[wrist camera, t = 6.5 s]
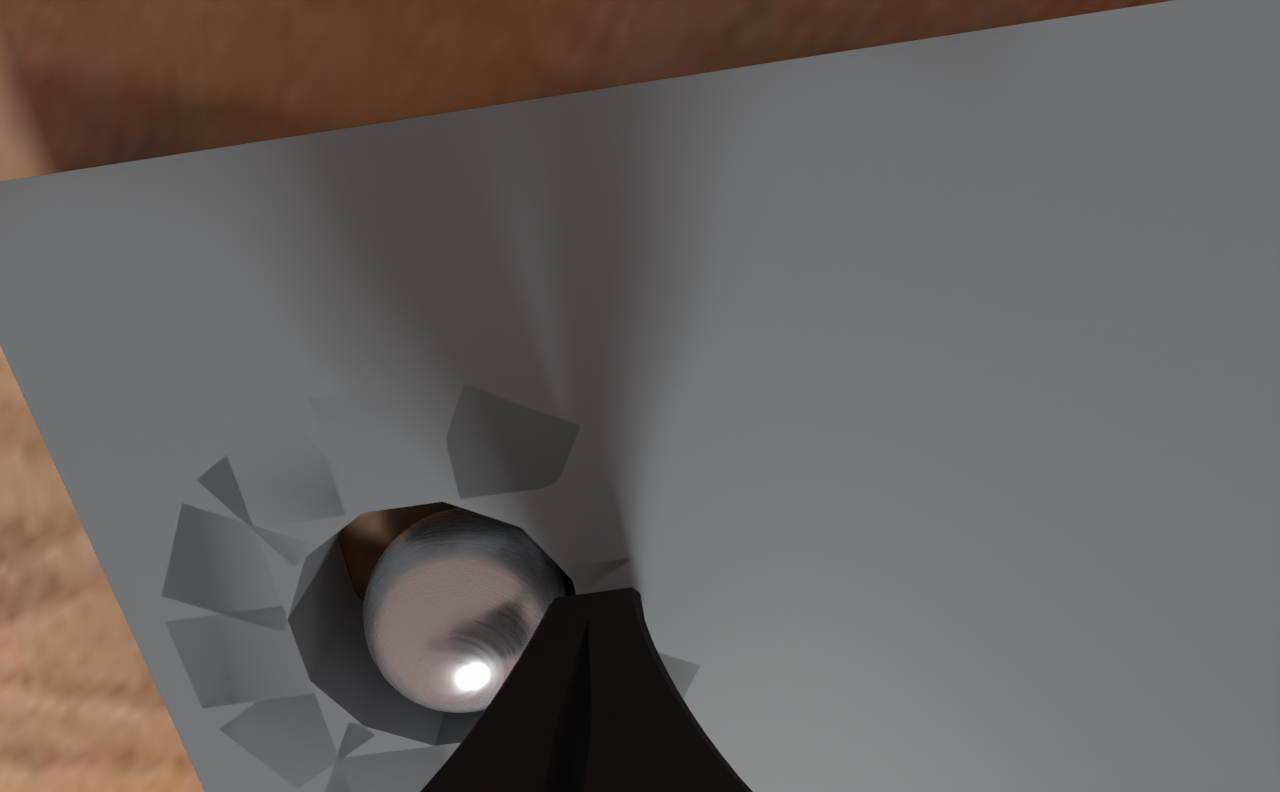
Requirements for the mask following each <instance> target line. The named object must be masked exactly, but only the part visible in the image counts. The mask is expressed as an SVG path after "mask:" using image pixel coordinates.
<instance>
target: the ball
mask: <svg viewBox="0 0 1280 792" xmlns="http://www.w3.org/2000/svg"><path fill="white" fill-rule="evenodd" d="M564 596H566V590H565V584H564V580H563V576H562V573H561V569H560V567H559V566H558V565H557V564H556V563H555V562H554V561H553V560H552V559H551V558H550V557H549V556H548V555H547V554H546V553H545V552H544V550H543V549H542V548H541V547H540V546H539V545H538V544H537V543H536V542H535V541H534V540H533V539H532V538H531V537H530V536H529V535H528V534H527V533H526V532H525V531H524V530H523V529H522V528H521V527H518V526H515V525H512V524H509V523H506V522H503V521H500V520H497V519H494V518H491V517H488V516H485V515H482V514H479V513H476V512H473V511H470V510H467V509H464V508H453V509H447V510H444V511H440V512H437V513H434V514H432V515H430V516H428V517H425V518H423V519H421V520H419V521H418V522H416V523H414V524H413V525H411V526H410V527H408V528H407V529H406V530H405V531H404V532H402V533H401V534H400V535H399V536H397V537H396V538H395V539H394V541H393V542H392V543H391V544H390V545H389V546H388V547H387V549H386V550H385V551H384V553H383V554H382V556H381V557H380V559H379V560H378V562H377V564H376V566H375V568H374V570H373V572H372V574H371V576H370V579H369V582H368V585H367V589H366V593H365V597H364V607H363V624H364V633H365V638H366V642H367V646H368V649H369V651H370V654H371V656H372V659H373V661H374V663H375V664H376V666H377V667H378V669H379V671H380V672H381V674H382V675H383V677H384V678H385V679H386V680H387V681H388V682H389V683H390V684H391V685H392V686H393V687H394V688H395V689H396V690H397V691H398V692H400V693H401V694H402V695H404V696H405V697H406V698H408V699H410V700H411V701H413V702H415V703H417V704H420V705H422V706H424V707H427V708H431V709H434V710H439V711H444V712H452V713H466V712H475V711H481V710H485V709H486V708H487V707H488V705H489V704H490V702H491V701H492V700H493V698H494V697H495V695H496V694H497V692H498V691H499V689H500V688H501V686H502V685H503V683H504V681H505V680H506V678H507V677H508V675H509V674H510V672H511V670H512V669H513V667H514V666H515V664H516V662H517V661H518V659H519V658H520V656H521V654H522V653H523V651H524V649H525V648H526V646H527V644H528V643H529V641H530V639H531V637H532V636H533V634H534V632H535V630H536V629H537V627H538V625H539V623H540V621H541V619H542V618H543V616H544V614H545V612H546V610H547V608H548V606H549V605H550V603H551V602H552V601H553V600H554V599H555V598H556V597H564Z"/></svg>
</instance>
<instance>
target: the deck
mask: <svg viewBox="0 0 1280 792" xmlns="http://www.w3.org/2000/svg"><path fill="white" fill-rule="evenodd" d="M0 345H1V348H2V350H3V352H4V354H5V356H6V358H7V361H8V363H9V365H10V367H11V369H12V372H13V374H14V376H15V378H16V380H17V382H18V385H19V387H20V389H21V391H22V393H23V396H24V398H25V400H26V402H27V404H28V406H29V409H30V411H31V413H32V415H33V417H34V420H35V422H36V424H37V426H38V428H39V430H40V433H41V435H42V437H43V439H44V441H45V444H46V446H47V448H48V450H49V452H50V454H51V457H52V459H53V461H54V463H55V465H56V468H57V470H58V472H59V474H60V476H61V479H62V481H63V483H64V485H65V487H66V489H67V492H68V494H69V496H70V498H71V500H72V503H73V505H74V507H75V509H76V511H77V513H78V516H79V518H80V520H81V522H82V524H83V527H84V529H85V531H86V533H87V535H88V537H89V540H90V542H91V544H92V546H93V548H94V551H95V553H96V555H97V557H98V559H99V561H100V564H101V566H102V568H103V570H104V572H105V575H106V577H107V579H108V581H109V583H110V585H111V588H112V590H113V592H114V594H115V596H116V599H117V601H118V603H119V605H120V607H121V609H122V612H123V614H124V616H125V618H126V620H127V623H128V625H129V627H130V629H131V631H132V633H133V636H134V638H135V640H136V642H137V644H138V647H139V649H140V651H141V653H142V655H143V657H144V660H145V662H146V664H147V666H148V668H149V671H150V673H151V675H152V677H153V679H154V681H155V684H156V686H157V688H158V690H159V692H160V695H161V697H162V699H163V701H164V703H165V705H166V708H167V710H168V712H169V714H170V716H171V719H172V721H173V723H174V725H175V727H176V729H177V732H178V734H179V736H180V738H181V740H182V743H183V745H184V747H185V749H186V751H187V753H188V756H189V758H190V760H191V762H192V764H193V767H194V769H195V771H196V773H197V775H198V777H199V780H200V782H201V784H202V786H203V788H204V791H205V792H420V791H421V790H422V789H423V788H424V787H425V786H426V784H427V783H428V782H429V781H430V780H431V779H432V777H433V776H434V775H435V774H436V773H437V772H438V770H439V769H440V768H441V767H442V766H443V765H444V763H445V762H446V761H447V760H448V759H449V757H450V756H451V755H452V754H453V752H454V751H455V750H456V749H457V747H458V746H459V745H460V744H461V742H462V741H463V740H464V738H465V737H466V736H467V734H468V733H469V732H470V730H471V729H472V728H473V726H474V725H475V723H476V722H477V721H478V719H479V718H480V716H481V715H482V714H483V712H484V711H485V710H481V711H475V712H466V713H452V712H444V711H439V710H434V709H431V708H427V707H424V706H422V705H420V704H417V703H415V702H413V701H411V700H410V699H408V698H406V697H405V696H404V695H402V694H401V693H400V692H398V691H397V690H396V689H395V688H394V687H393V686H392V685H391V684H390V683H389V682H388V681H387V680H386V679H385V678H384V677H383V675H382V674H381V672H380V671H379V669H378V667H377V666H376V664H375V663H374V661H373V659H372V656H371V654H370V651H369V649H368V646H367V642H366V638H365V633H364V624H363V607H364V601H363V600H362V599H361V598H359V597H358V596H357V595H356V593H355V590H354V587H353V584H352V581H351V578H350V575H349V571H348V568H347V565H346V562H345V559H344V556H343V553H342V550H341V547H340V544H339V541H338V538H339V535H340V532H341V529H343V528H344V527H345V526H346V525H348V524H349V523H350V522H352V521H353V520H354V519H355V518H357V517H358V516H359V515H361V514H362V513H365V512H372V511H380V510H387V509H394V508H401V507H408V506H416V505H423V504H430V503H437V502H445V503H448V504H451V505H455V506H458V507H461V508H464V509H467V510H470V511H473V512H476V513H479V514H482V515H485V516H488V517H491V518H494V519H497V520H500V521H503V522H506V523H509V524H512V525H515V526H518V527H521V528H522V529H523V530H524V531H525V532H526V533H527V534H528V535H529V536H530V537H531V538H532V539H533V540H534V541H535V542H536V543H537V544H538V545H539V546H540V547H541V548H542V549H543V550H544V552H545V553H546V554H547V555H548V556H549V557H550V558H551V559H552V560H553V561H554V562H555V563H556V564H557V565H558V566H559V567H560V568H561V569H562V570H563V571H564V572H565V573H566V574H567V575H568V576H569V577H570V578H571V579H572V580H573V583H574V588H575V593H576V595H578V594H586V593H593V592H601V591H608V590H615V589H623V588H630V587H633V588H634V589H636V590H637V591H638V592H640V594H641V600H642V606H643V611H644V617H645V622H646V625H647V627H648V630H649V633H650V635H651V638H652V640H653V643H654V645H655V647H656V649H657V652H658V654H659V656H660V658H661V660H662V662H663V664H664V666H665V668H666V669H667V671H668V673H669V675H670V677H671V679H672V681H673V683H674V684H675V686H676V688H677V690H678V691H679V693H680V695H681V696H682V698H683V700H684V701H685V703H686V704H687V706H688V708H689V709H690V711H691V712H692V714H693V716H694V717H695V719H696V720H697V722H698V723H699V725H700V726H701V727H702V729H703V730H704V732H705V733H706V735H707V736H708V737H709V739H710V740H711V741H712V743H713V744H714V745H715V747H716V748H717V749H718V751H719V752H720V753H721V755H722V756H723V757H724V758H725V760H726V761H727V762H728V763H729V765H730V766H731V767H732V768H733V769H734V771H735V772H736V773H737V774H738V776H739V777H740V778H741V779H742V780H743V781H744V782H745V784H746V785H747V786H748V787H749V788H750V789H751V790H752V791H753V792H1280V0H1173V1H1166V2H1160V3H1153V4H1147V5H1140V6H1134V7H1127V8H1121V9H1114V10H1108V11H1101V12H1095V13H1089V14H1082V15H1076V16H1069V17H1063V18H1056V19H1050V20H1043V21H1037V22H1030V23H1024V24H1017V25H1011V26H1004V27H998V28H991V29H985V30H978V31H972V32H965V33H959V34H953V35H946V36H940V37H933V38H927V39H920V40H914V41H907V42H901V43H894V44H888V45H881V46H875V47H868V48H862V49H855V50H849V51H842V52H836V53H830V54H823V55H817V56H810V57H804V58H797V59H791V60H784V61H778V62H771V63H765V64H758V65H752V66H745V67H739V68H732V69H726V70H719V71H713V72H706V73H700V74H694V75H687V76H681V77H674V78H668V79H661V80H655V81H648V82H642V83H635V84H629V85H622V86H616V87H609V88H603V89H596V90H590V91H583V92H577V93H570V94H564V95H558V96H551V97H545V98H538V99H532V100H525V101H519V102H512V103H506V104H499V105H493V106H486V107H480V108H473V109H467V110H460V111H454V112H447V113H441V114H435V115H428V116H422V117H415V118H409V119H402V120H396V121H389V122H383V123H376V124H370V125H363V126H357V127H350V128H344V129H337V130H331V131H324V132H318V133H311V134H305V135H299V136H292V137H286V138H279V139H273V140H266V141H260V142H253V143H247V144H240V145H234V146H227V147H221V148H214V149H208V150H201V151H195V152H188V153H182V154H175V155H169V156H163V157H156V158H150V159H143V160H137V161H130V162H124V163H117V164H111V165H104V166H98V167H91V168H85V169H78V170H72V171H65V172H59V173H52V174H46V175H40V176H33V177H27V178H20V179H14V180H7V181H1V182H0Z"/></svg>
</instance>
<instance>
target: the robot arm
mask: <svg viewBox="0 0 1280 792" xmlns="http://www.w3.org/2000/svg"><path fill="white" fill-rule="evenodd" d="M420 792H753V791H752V790H751V789H750V788H749V787H748V786H747V785H746V784H745V782H744V781H743V780H742V779H741V778H740V777H739V776H738V774H737V773H736V772H735V771H734V769H733V768H732V767H731V766H730V765H729V763H728V762H727V761H726V760H725V758H724V757H723V756H722V755H721V753H720V752H719V751H718V749H717V748H716V747H715V745H714V744H713V743H712V741H711V740H710V739H709V737H708V736H707V735H706V733H705V732H704V730H703V729H702V727H701V726H700V725H699V723H698V722H697V720H696V719H695V717H694V716H693V714H692V712H691V711H690V709H689V708H688V706H687V704H686V703H685V701H684V700H683V698H682V696H681V695H680V693H679V691H678V690H677V688H676V686H675V684H674V683H673V681H672V679H671V677H670V675H669V673H668V671H667V669H666V668H665V666H664V664H663V662H662V660H661V658H660V656H659V654H658V652H657V649H656V647H655V645H654V643H653V640H652V638H651V635H650V633H649V630H648V627H647V625H646V622H645V617H644V611H643V606H642V600H641V594H640V592H638V591H637V590H636V589H634V588H633V587H630V588H623V589H615V590H608V591H601V592H593V593H586V594H578V595H571V596H564V597H556V598H555V599H554V600H553V601H552V602H551V603H550V605H549V606H548V608H547V610H546V612H545V614H544V616H543V618H542V619H541V621H540V623H539V625H538V627H537V629H536V630H535V632H534V634H533V636H532V637H531V639H530V641H529V643H528V644H527V646H526V648H525V649H524V651H523V653H522V654H521V656H520V658H519V659H518V661H517V662H516V664H515V666H514V667H513V669H512V670H511V672H510V674H509V675H508V677H507V678H506V680H505V681H504V683H503V685H502V686H501V688H500V689H499V691H498V692H497V694H496V695H495V697H494V698H493V700H492V701H491V702H490V704H489V705H488V707H487V708H486V709H485V711H484V712H483V714H482V715H481V716H480V718H479V719H478V721H477V722H476V723H475V725H474V726H473V728H472V729H471V730H470V732H469V733H468V734H467V736H466V737H465V738H464V740H463V741H462V742H461V744H460V745H459V746H458V747H457V749H456V750H455V751H454V752H453V754H452V755H451V756H450V757H449V759H448V760H447V761H446V762H445V763H444V765H443V766H442V767H441V768H440V769H439V770H438V772H437V773H436V774H435V775H434V776H433V777H432V779H431V780H430V781H429V782H428V783H427V784H426V786H425V787H424V788H423V789H422V790H421V791H420Z"/></svg>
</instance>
